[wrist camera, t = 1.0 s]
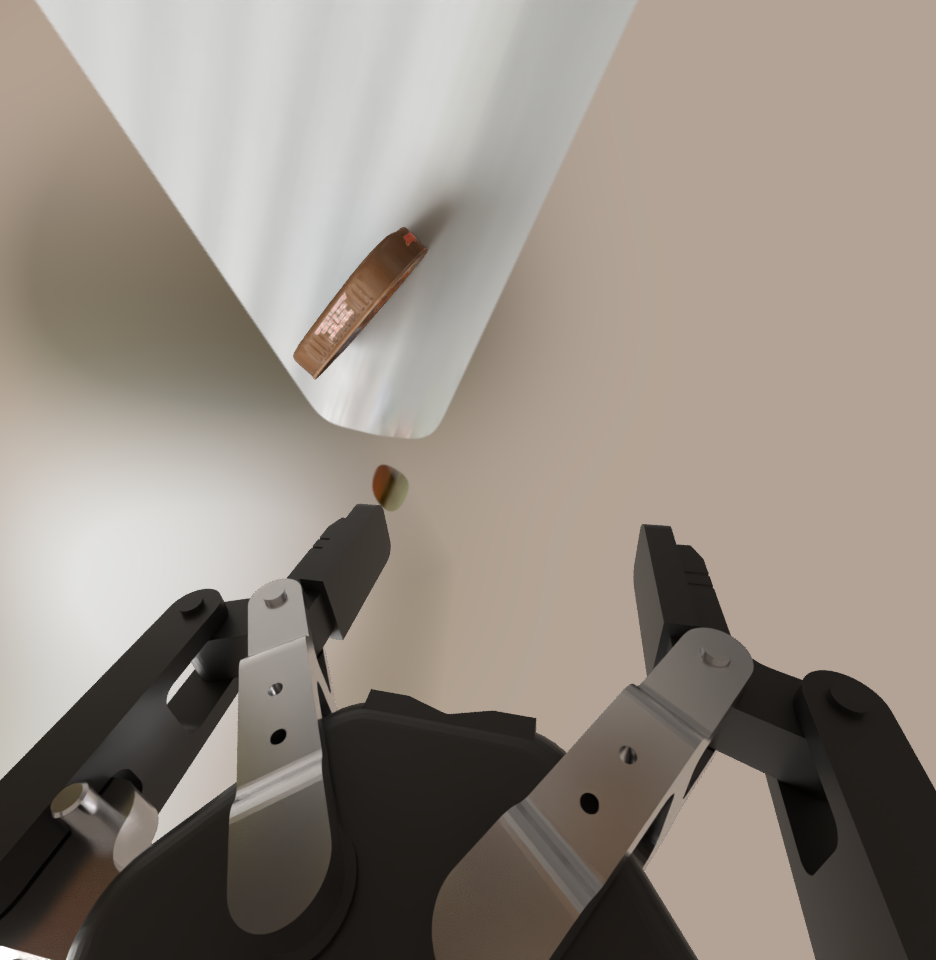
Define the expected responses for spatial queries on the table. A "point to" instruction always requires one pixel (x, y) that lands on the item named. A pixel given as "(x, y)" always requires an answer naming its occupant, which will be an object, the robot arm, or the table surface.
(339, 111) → the table surface
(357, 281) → the tin
